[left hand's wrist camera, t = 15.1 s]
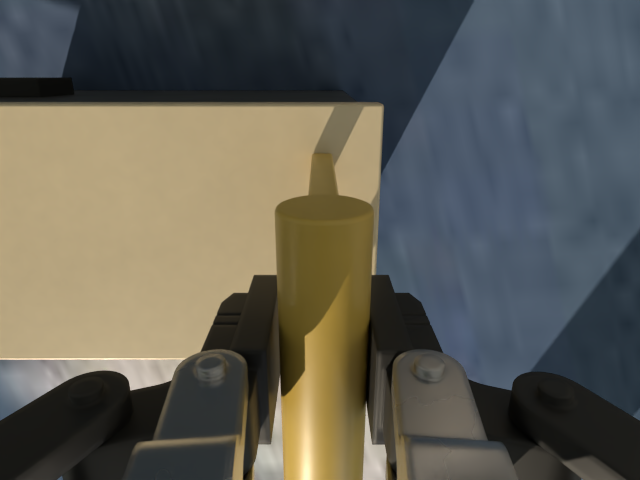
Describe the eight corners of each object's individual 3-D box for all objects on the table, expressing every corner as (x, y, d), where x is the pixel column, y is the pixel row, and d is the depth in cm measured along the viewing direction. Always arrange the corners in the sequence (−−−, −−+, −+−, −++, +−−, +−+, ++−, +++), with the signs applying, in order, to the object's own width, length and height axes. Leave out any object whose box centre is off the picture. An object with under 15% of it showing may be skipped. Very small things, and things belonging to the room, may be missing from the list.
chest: (343, 90, 26) (359, 101, 16) (340, 251, 29) (352, 345, 19) (56, 90, 26) (-110, 101, 16) (87, 251, 29) (-33, 345, 19)
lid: (380, 102, 16) (450, 136, 7) (369, 345, 19) (408, 559, 11) (-111, 101, 16) (-609, 136, 7) (-34, 345, 19) (-310, 560, 11)
